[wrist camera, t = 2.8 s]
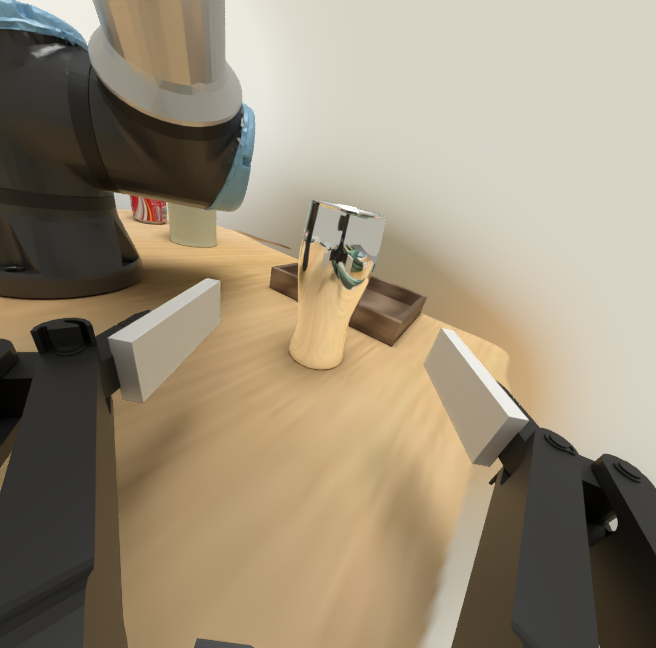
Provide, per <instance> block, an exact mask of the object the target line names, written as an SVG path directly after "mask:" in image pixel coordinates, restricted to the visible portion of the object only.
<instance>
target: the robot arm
mask: <svg viewBox="0 0 656 648" xmlns="http://www.w3.org/2000/svg"><path fill="white" fill-rule="evenodd" d="M93 3H94V5H95V9H96V11H97V15H98V18H99V21H100V24H101V25H100V26H99V28H98V29H96V31H95V32H94V33H93V34H92V36H91V38H90V40H89V44H88V46H87V44H86V41H85V40H84V38H83V37H82V35H81V34H80V33H79V32H77V30H76V29H74V28H73V27H72V26H70V25H69V24H67V23H66V22H64V21H63V20H61V19H59V18H57V17H56V16H54V15H52V14H50V13H48V12H46V11H44V10H42V9H39V8H37V7H35V6H32V5H29V4H25V3H21V2H18V1H16V0H0V295H2V296H10V297H21V298H67V297H79V296H88V295H95V294H101V293H106V292H111V291H115V290H118V289H122V288H125V287H127V286H130V285H132V284H134V283H136V282H137V281H139V280H140V279H141V278H142V277H143V268H142V261H141V258H140V255H139V253H138V252H137V250H136V248H135V246H134V244H133V242H132V241H131V239H130V237H129V235H128V233H127V231H126V230H125V228H124V226H123V224H122V222H121V220H120V219H119V217H118V214H117V210H116V205H115V199H114V192H116V193H122V194H128V195H133V196H138V197H143V198H148V199H153V200H158V201H164V202H169V203H174V204H179V205H184V206H189V207H195V208H200V209H204V210H207V211H208V210H219V211H227V212H230V211H235V210H236V209H238V208H239V207H240V206H241V204H242V202H243V199H244V197H245V193H246V190H247V185H248V180H249V175H250V167H251V165H250V163H251V159H252V155H253V149H254V138H255V116H254V112H253V110H252V109H251V108H250V107H248V106H247V105H246V104H244V103H243V102H242V89H241V85H240V83H239V80H238V78H237V76H236V74H235V73H234V71H233V70H232V68H231V67H230V66H229V64H228V63H227V62H226V60H225V0H93ZM219 324H220V281H219V280H214V279H209V278H206V279H204V280H203V281H201V282H199V283H198V284H196V285H194V286H193V287H191V288H189V289H188V290H186V291H184V292H183V293H181V294H179V295H178V296H176V297H174V298H173V299H171V300H170V301H168V302H166V303H165V304H163V305H161V306H160V307H158V308H156V309H155V310H153V311H150V310H147V311H144V312H140V313H137V314H134V315H133V316H131V317H129V318H127V319H126V320H125V321H122V322H120V323H118V324H117V326H116V325H115V326H113V327H111V328H110V329H108V330H106V331H104V332H103V333H101V334H99V335H97V336H96V337H95V335H94V331H93V327H92V324H91V322H90V321H87V320H85V319H80V318H63V319H56V320H51V321H48V322H44V323H42V324H40V325H38V326H36V327H34V328H33V329H32V330H31V331H30V332H31V335H32V337H33V339H34V342H35V344H36V347H37V349H38V352H16V350H15V348H14V346H13V344H12V343H11V341H9V340H5V339H0V468H1V466H2V465H3V463H4V462H5V460H6V459H7V457H8V456H9V454H10V453H11V451H12V453H11V457H10V460H9V464H8V467H7V471H6V474H5V478H4V482H3V485H2V489H1V492H0V648H128V645H127V638H126V633H125V627H124V621H123V609H122V588H121V567H120V546H119V524H118V503H117V482H116V460H115V439H114V417H113V401H112V397H111V395H112V394H113V393H114V392H115V391H116V390H118V389H119V388H120V390H121V394H122V398H123V399H124V400H129V401H135V402H140V403H144V402H145V401H146V400H147V399H148V398H149V397H150V396H151V395H152V394H153V393H154V392H155V391H156V389H157V388H158V387H159V386H160V385H161V384H162V383H163V382H164V381H165V380H166V379H167V378H168V377H169V376H170V375H171V374H172V373H173V372H174V371H175V370H176V369H177V368H178V367H179V366H180V364H181V363H182V362H183V361H184V360H185V359H186V358H187V357H188V356H189V355H190V354H191V353H192V352H193V351H194V350H195V349H196V348H197V347H198V346H199V345H200V344H201V343H202V342H203V341H204V339H205V338H206V337H207V336H208V335H209V334H210V333H211V332H212V331H213V330H214V329H215V328H216V327H217V326H218V325H219ZM424 367H425V369H426V371H427V373H428V375H429V377H430V379H431V381H432V383H433V385H434V387H435V389H436V391H437V393H438V395H439V397H440V399H441V401H442V403H443V405H444V407H445V409H446V411H447V413H448V415H449V417H450V420H451V422H452V424H453V426H454V428H455V430H456V432H457V434H458V436H459V438H460V440H461V442H462V444H463V446H464V448H465V450H466V452H467V454H468V456H469V458H470V460H471V462H472V464H478V465H483V466H488V467H490V466H491V465H492V464H493V462H494V461H495V460H496V459H497V458H499V459H500V461H501V463H502V464H503V467H502V468H501V470H499V472H498V473H497V474H496V475H495V476H494V477H493V478H492V479H491V481H490V482H489V484H491V485H492V484H493V483H494V482H495V487H494V490H493V494H492V498H491V501H490V505H489V509H488V513H487V516H486V520H485V524H484V527H483V531H482V535H481V539H480V542H479V546H478V550H477V554H476V558H475V561H474V565H473V569H472V572H471V576H470V580H469V583H468V587H467V591H466V595H465V598H464V602H463V606H462V610H461V613H460V617H459V621H458V625H457V628H456V632H455V636H454V640H453V643H452V647H451V648H599V646H600V648H656V488H655V487H654V485H653V484H652V483H651V482H650V481H649V480H648V478H647V477H646V476H645V475H643V474H642V473H641V472H640V471H639V470H638V469H637V468H636V467H634V466H632V465H631V464H630V463H628V462H626V461H624V460H622V459H620V458H618V457H616V456H613V455H610V454H603V455H602V456H601V457H600V458H598V459H597V460H596V461H593V460H590V459H588V458H585V457H583V456H581V455H579V454H578V452H577V451H576V449H575V448H574V447H573V446H572V445H571V444H570V443H569V442H568V441H567V440H565V439H564V438H563V437H561V436H560V435H558V434H556V433H554V432H552V431H550V430H548V429H544V428H540V427H539V426H538V425H537V424H536V423H535V422H534V420H533V419H532V418H531V417H530V416H529V415H528V413H527V412H526V411H525V410H524V409H523V408H522V407H521V406H520V405H519V403H518V402H517V401H516V400H515V398H513V396H512V395H511V394H510V393H509V391H508V390H507V389H506V388H505V387H504V386H502V385H501V384H500V383H498V382H497V381H496V380H495V379H494V378H493V377H492V376H491V375H490V373H489V372H488V371H487V370H486V369H485V367H484V366H483V365H482V364H481V363H480V362H479V360H478V359H477V358H476V357H475V356H474V354H473V353H472V352H471V351H470V350H469V348H468V347H467V346H466V345H465V344H464V343H463V341H462V340H461V339H460V338H459V337H458V335H457V334H456V333H455V332H454V331H453V330H448V329H443V328H441V330H440V332H439V334H438V336H437V338H436V340H435V342H434V344H433V346H432V348H431V350H430V352H429V354H428V356H427V358H426V360H425V362H424ZM615 518H617V520H618V526H617V529H616V531H612V530H611V528H610V525H609V522H611V521H612V520H613V519H615ZM194 648H254V647H252V646H251V645H243V644H236V643H228V642H221V641H213V640H206V639H199V638H197V640H196V643H195V646H194Z"/></svg>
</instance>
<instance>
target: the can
mask: <svg viewBox="0 0 656 648" xmlns="http://www.w3.org/2000/svg"><path fill="white" fill-rule="evenodd" d="M168 209H169V222H170V240H171V241H172V242H174V243H177V244H180V245H184V246H190V247H201V248H206V247H214V246H216V245H217V240H216V210H208V211H207V210H204V209H200V208H195V207H189V206H184V205H179V204H174V203H169V202H168Z"/></svg>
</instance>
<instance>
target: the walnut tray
mask: <svg viewBox="0 0 656 648" xmlns="http://www.w3.org/2000/svg"><path fill="white" fill-rule="evenodd" d="M270 288H272V289H274V290H276V291H278V292H280V293H282V294H284V295H286V296H289V297H291V298H293V299H295V300H297V301H298V263H294V264H288V265H281V266H275V267H272V270H271V280H270ZM426 299H427V296H425V295H422V294H420V293H417V292H414V291H412V290H409V289H406V288H403V287H401V286H398V285H395V284H393V283H390V282H388V281H385V280H382V279H379V278H377V277H374V276H372V277H371V280H370V282H369V284H368V287H367V289H366V291H365V293H364V295H363V297H362V299H361V301H360V303H359V305H358V307H357V309H356V311H355V313H354V315H353V317H352V319H351V321H350V323H349V326H351V327H353V328H355V329H357V330H359V331H361V332H363V333H365V334H367V335H369V336H371V337H373V338H375V339H377V340H379V341H382V342H384V343H386V344H388V345H390V346H392V345H393V344H394V343H395V342H396V341H397V340H398V339H399V337H400V336H401V335H402V334H403V333H404V332H405V331H406V329H407V328H408V327H409V326H410V325H411V324H412V323H413V321H414V320H415V319H416V318H417V317H418V316H419V315H420V313H421V310H422V308H423V306H424V303H425V301H426Z"/></svg>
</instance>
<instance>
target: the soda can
mask: <svg viewBox="0 0 656 648" xmlns="http://www.w3.org/2000/svg"><path fill="white" fill-rule="evenodd" d="M130 200H131V206H132V211H133V215H134V217H135V218H136V219H138V220H139V221H140V222H143V223H149V224H163V222H165V221H167V210H166V202H164V201H158V200H153V199H148V198H143V197H138V196H133V195H130Z"/></svg>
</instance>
